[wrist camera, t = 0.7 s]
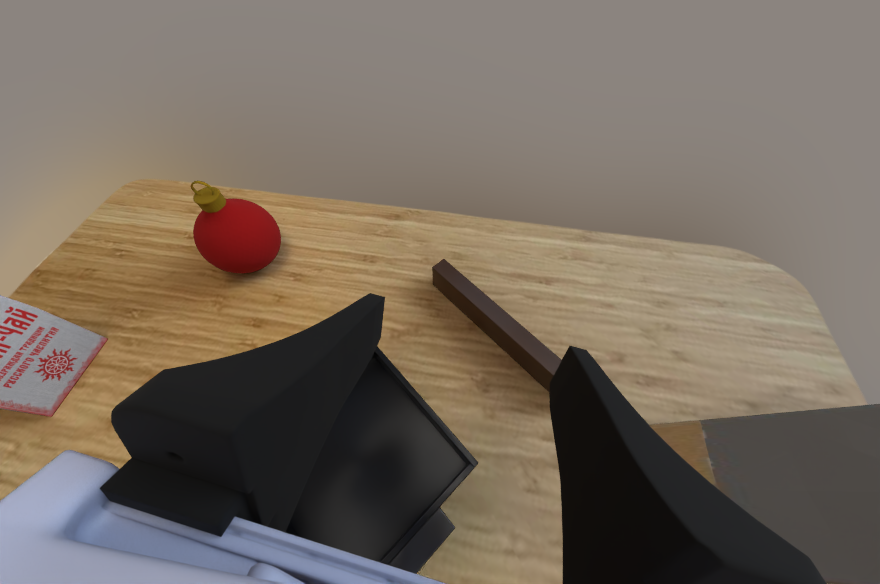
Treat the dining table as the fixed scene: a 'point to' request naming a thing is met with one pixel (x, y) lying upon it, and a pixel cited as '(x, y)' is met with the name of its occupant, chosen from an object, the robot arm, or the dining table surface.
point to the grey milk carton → (40, 357)
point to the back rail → (496, 323)
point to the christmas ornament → (234, 232)
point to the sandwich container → (799, 479)
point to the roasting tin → (383, 474)
